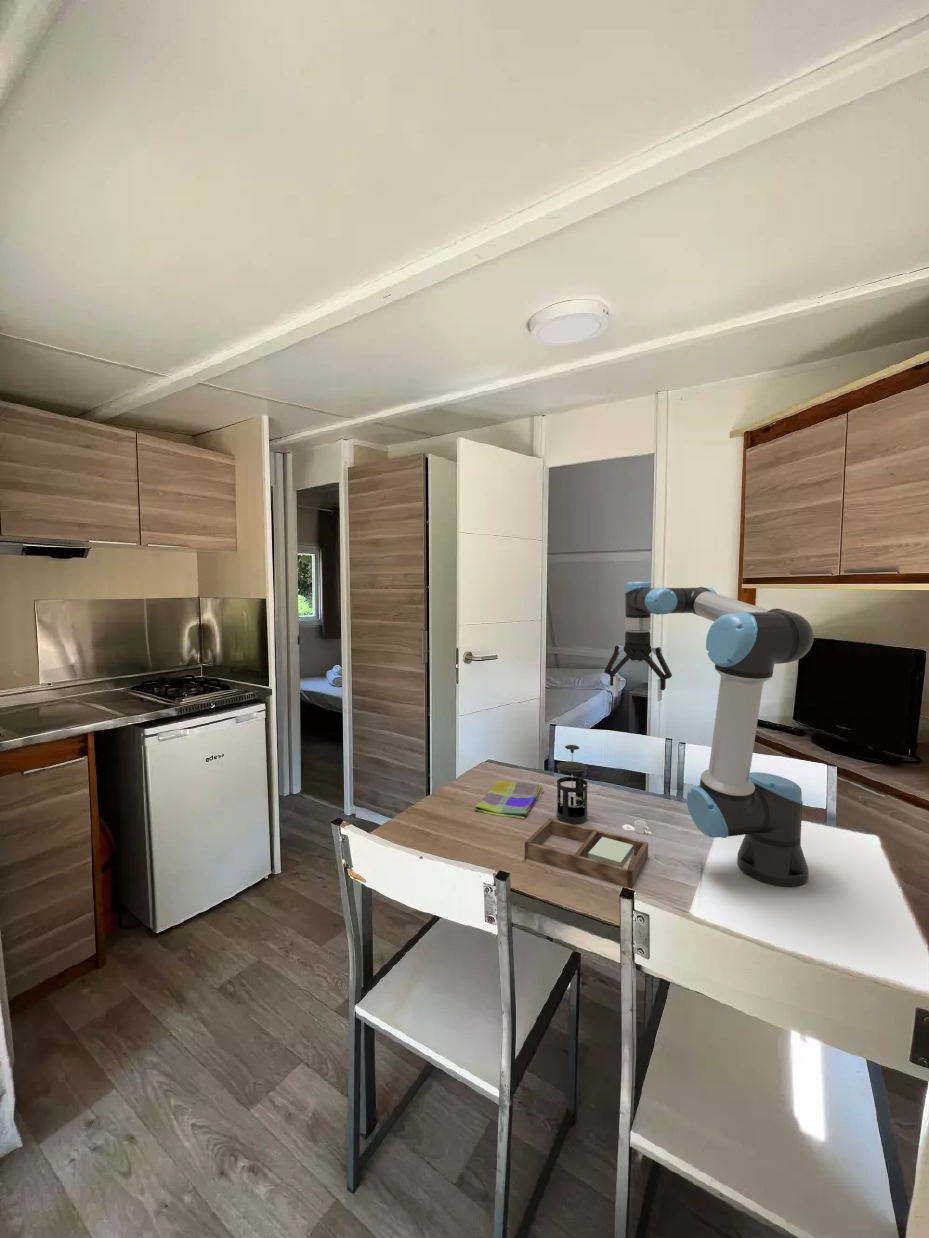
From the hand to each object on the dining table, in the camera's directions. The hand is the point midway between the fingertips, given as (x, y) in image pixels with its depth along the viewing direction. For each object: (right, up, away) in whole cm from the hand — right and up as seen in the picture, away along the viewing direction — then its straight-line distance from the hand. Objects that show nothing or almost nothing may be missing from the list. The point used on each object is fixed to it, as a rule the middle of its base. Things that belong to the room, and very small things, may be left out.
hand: (637, 698), depth 167 cm
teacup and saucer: (-4, -37, -15) cm, 40 cm away
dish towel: (-39, -35, +7) cm, 53 cm away
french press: (-22, -36, -8) cm, 43 cm away
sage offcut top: (-18, -34, -35) cm, 52 cm away
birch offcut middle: (-18, -36, -35) cm, 53 cm away
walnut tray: (-23, -37, -31) cm, 54 cm away
